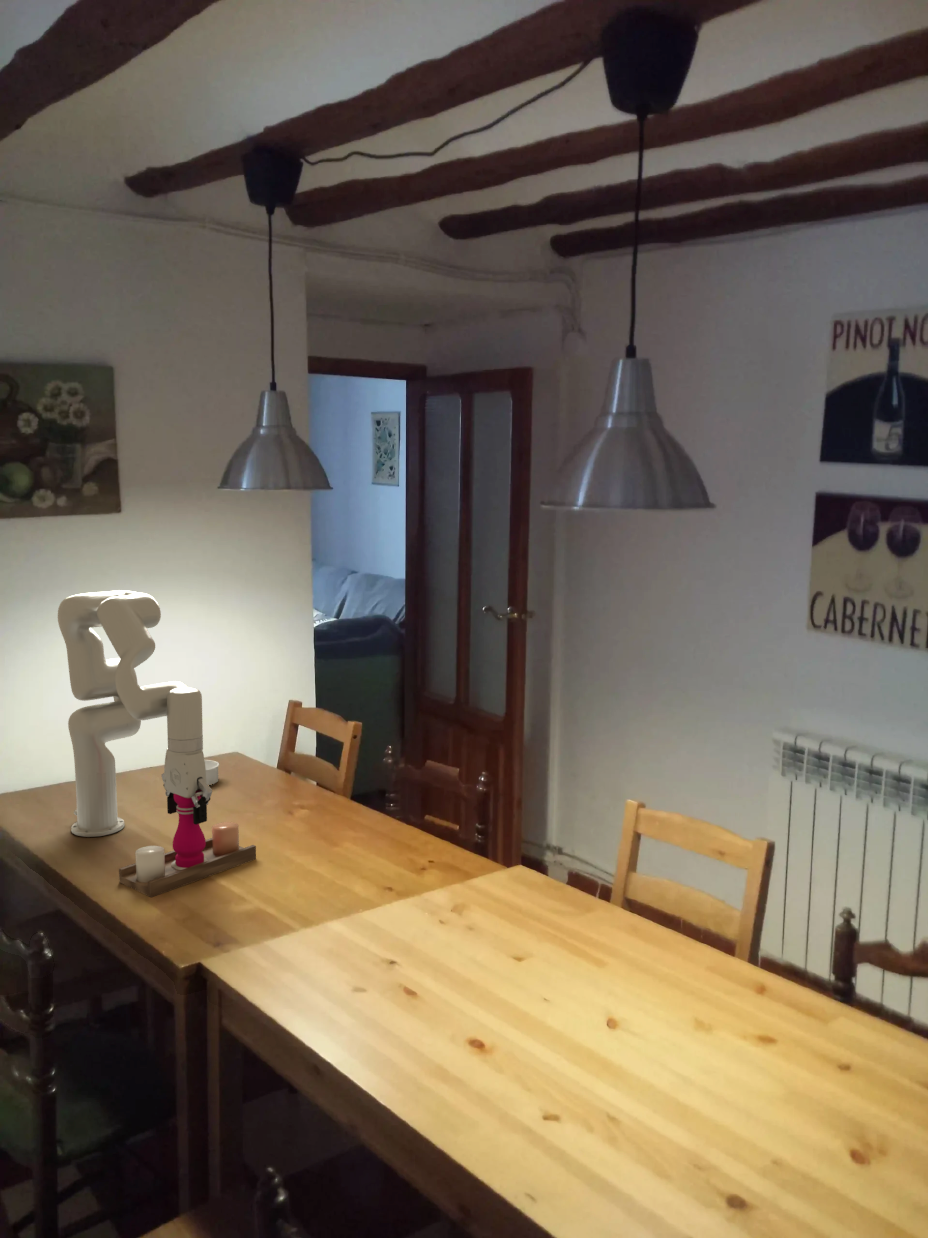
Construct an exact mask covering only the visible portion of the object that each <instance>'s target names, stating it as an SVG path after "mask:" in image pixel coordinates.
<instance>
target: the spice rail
mask: <svg viewBox="0 0 928 1238" xmlns="http://www.w3.org/2000/svg"><path fill="white" fill-rule="evenodd" d="M205 841H206V846H205V848H204V849H203V851H202V852H203V853H204V862H203V863H200V864H197V865H194V866H191V867H188V868H183V867H179V866H177V865H176V863H175V856H176V855H177V853H176V852H175V851H174V850H171V851H167V852H164V854H165V876H163V877H160V878H157V879H154V880H151V881H148V883H144V882H139V881H138V880H137V877H136V862H135V863H131V864H129V865H125V866H122V867H119V868H118V875H119V877H118V878H119V879H118V880H119V884H122V885H125V886H126V887H128V888H131V889H132V890H135V891H136V892H139V893H142V894H143V895H145V896H147V897H149V898H153V897H156V896H158V895H162V894H164V893H167V892H169V891H172V890H175V889H178V888H181V887H184V886H186V885H189V884H191V883H194V882H197V881H199V880H203V879H205V878H208V877H211V876H213V875H217V874H219V873H221V872H224V871H227V870H230V869H233V868H236V867H239V866H241V865H244V864H247V863H250V862H252V861H255V860H257V846H256V845H254V844H251V845H248V846H246V847H243V846H240V845H239V850H237V851H234V852H231V853H228V854H226V855H223V856H218V855H215V854H213V846H212V837H210V838H207V839H205Z"/></svg>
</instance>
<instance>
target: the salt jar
mask: <svg viewBox="0 0 928 1238" xmlns="http://www.w3.org/2000/svg"><path fill="white" fill-rule="evenodd" d="M135 863H136V877H137V880H138V881H139V882H144V883H148V881H151V880H154V879H157V878H160V877H163V876H165V848H164V847H163V846H160V845H147V846H143V847H140V848H138V849H136V850H135Z"/></svg>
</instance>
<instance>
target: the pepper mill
mask: <svg viewBox="0 0 928 1238" xmlns="http://www.w3.org/2000/svg"><path fill="white" fill-rule="evenodd" d="M197 792H199V791H196V792H195V793H197ZM200 798H201V797H200V796H198V797H197V799H198V801H199V800H200ZM174 801H175V802H176V803H177V804H178V805H177V806H176V808H177V810H176V813H177V814H178V825H177V828H176V831H175V833H174V836H173V839H172V849H173V850H172V851H175V852H176V853H177V855H176V856H175V863H176V865H177V866H179V867H183V868H188V867H191V866H194V865H197V864H200V863H203V862H204V853H203V852H202V851H203V849H204V848H205V846H206V841H205V840H206V837H205V834H204V832H203V830H202V827H201V826H200V824H197V825H196V824H194V822H193V807H195V805H194V802H193V800H192V798H184V797H182V796H180V795H177V794H174Z"/></svg>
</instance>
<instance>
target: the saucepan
mask: <svg viewBox="0 0 928 1238" xmlns="http://www.w3.org/2000/svg"><path fill="white" fill-rule="evenodd" d="M204 760H205V768H206V783H207V784H208V785H211V784H213V785H215V784H216V783H217V782H218V781H219V780H220V779H219V766H220V762H219V761H215V760H212V759H204ZM211 786H212V785H211Z"/></svg>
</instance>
